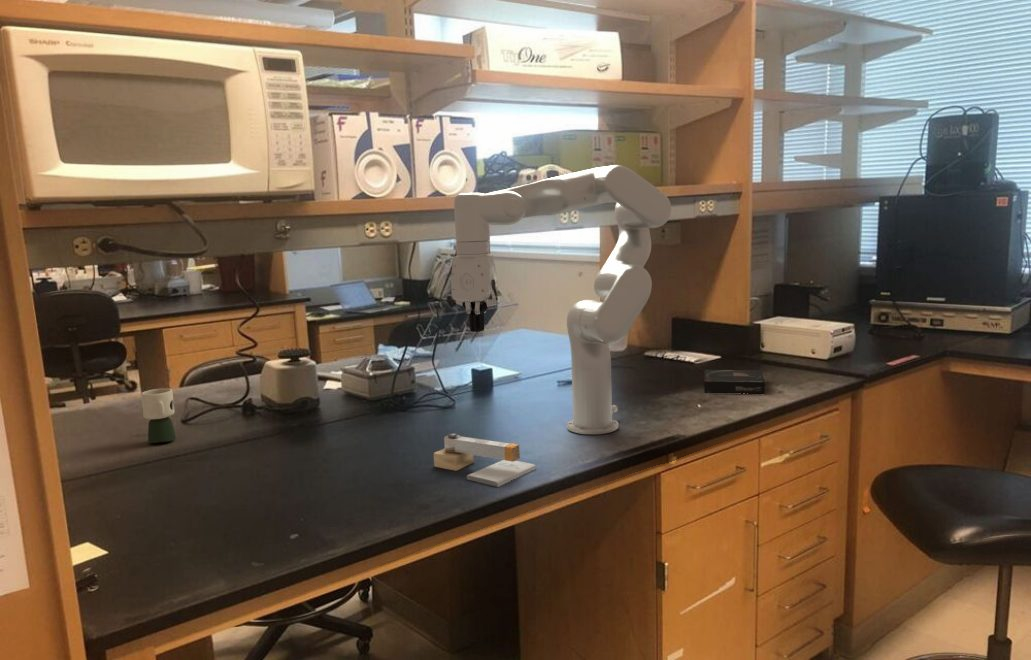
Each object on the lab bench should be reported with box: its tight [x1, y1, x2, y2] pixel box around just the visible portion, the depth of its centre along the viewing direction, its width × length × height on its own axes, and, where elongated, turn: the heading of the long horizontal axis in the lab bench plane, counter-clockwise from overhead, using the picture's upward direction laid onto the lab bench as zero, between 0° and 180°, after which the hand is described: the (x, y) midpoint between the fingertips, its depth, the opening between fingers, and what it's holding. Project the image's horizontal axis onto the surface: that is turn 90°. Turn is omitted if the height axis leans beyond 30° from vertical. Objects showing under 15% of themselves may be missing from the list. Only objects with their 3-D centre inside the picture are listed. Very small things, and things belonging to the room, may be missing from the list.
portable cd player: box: [703, 369, 766, 395], centre depth 224 cm, size 16×17×4 cm
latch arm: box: [443, 432, 521, 462], centre depth 160 cm, size 18×4×3 cm, turn 58°
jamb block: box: [433, 447, 475, 471], centre depth 165 cm, size 6×6×3 cm
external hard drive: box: [466, 460, 537, 488], centre depth 157 cm, size 2×8×12 cm
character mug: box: [140, 387, 177, 444], centre depth 190 cm, size 11×7×13 cm, turn 34°
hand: (477, 331), depth 172 cm, fingers closed
